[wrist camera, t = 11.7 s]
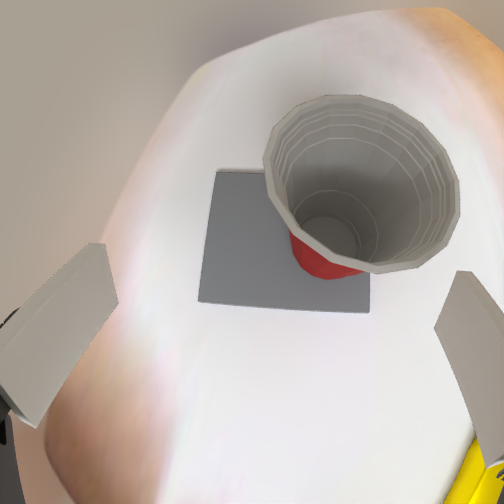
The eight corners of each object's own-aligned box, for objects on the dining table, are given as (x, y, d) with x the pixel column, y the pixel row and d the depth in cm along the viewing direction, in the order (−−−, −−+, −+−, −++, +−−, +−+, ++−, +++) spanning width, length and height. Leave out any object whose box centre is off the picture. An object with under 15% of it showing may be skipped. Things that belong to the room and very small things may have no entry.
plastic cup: (241, 207, 26) (235, 104, 15) (352, 179, 27) (398, 85, 16) (282, 331, 23) (313, 306, 11) (400, 287, 24) (490, 234, 12)
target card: (363, 185, 27) (365, 182, 27) (367, 313, 24) (369, 312, 23) (217, 175, 29) (216, 172, 28) (199, 302, 25) (197, 301, 25)
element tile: (545, 429, 18) (569, 432, 13) (498, 530, 14) (516, 542, 9) (473, 429, 20) (501, 438, 15) (413, 547, 16) (429, 567, 11)
